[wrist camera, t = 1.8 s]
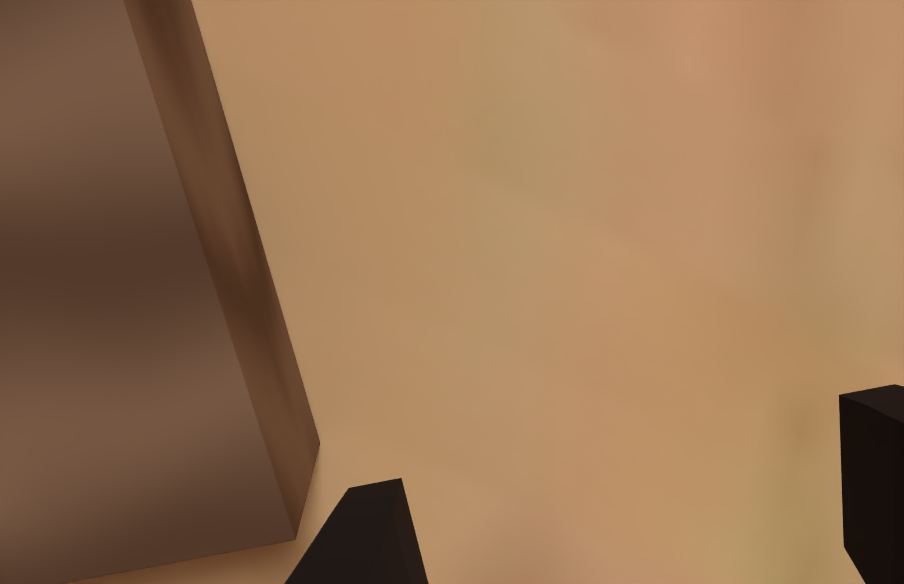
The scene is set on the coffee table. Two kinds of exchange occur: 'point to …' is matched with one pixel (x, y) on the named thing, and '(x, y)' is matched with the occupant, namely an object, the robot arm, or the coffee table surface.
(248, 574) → the coffee table surface
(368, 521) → the robot arm
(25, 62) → the walnut deck
